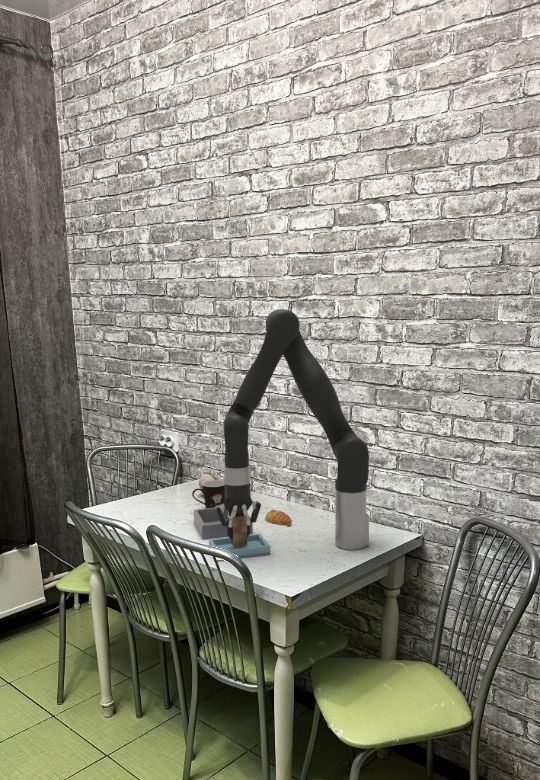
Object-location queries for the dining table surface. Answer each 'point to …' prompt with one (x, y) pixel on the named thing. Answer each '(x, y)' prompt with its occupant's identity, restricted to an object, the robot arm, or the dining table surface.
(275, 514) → the pastry
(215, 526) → the low gray crate
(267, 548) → the shallow blue tray
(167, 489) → the dining table surface
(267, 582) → the dining table surface
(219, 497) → the coffee mug
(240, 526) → the walnut block
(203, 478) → the decorative fruit
